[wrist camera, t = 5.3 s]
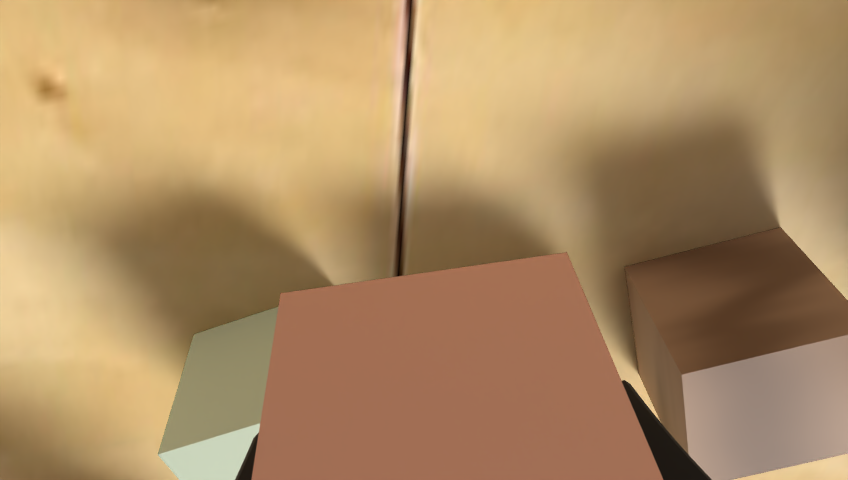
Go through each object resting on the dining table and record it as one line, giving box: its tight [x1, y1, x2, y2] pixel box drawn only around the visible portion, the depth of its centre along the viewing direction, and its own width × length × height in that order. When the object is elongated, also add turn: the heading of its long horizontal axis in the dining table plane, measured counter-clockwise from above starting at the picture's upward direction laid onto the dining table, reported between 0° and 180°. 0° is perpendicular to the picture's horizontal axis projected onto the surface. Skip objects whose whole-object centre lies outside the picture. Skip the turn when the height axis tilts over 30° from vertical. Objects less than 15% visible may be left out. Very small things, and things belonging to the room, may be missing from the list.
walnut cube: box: [625, 227, 848, 480], centre depth 22 cm, size 5×5×5 cm
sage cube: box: [158, 307, 278, 480], centre depth 22 cm, size 5×5×5 cm
